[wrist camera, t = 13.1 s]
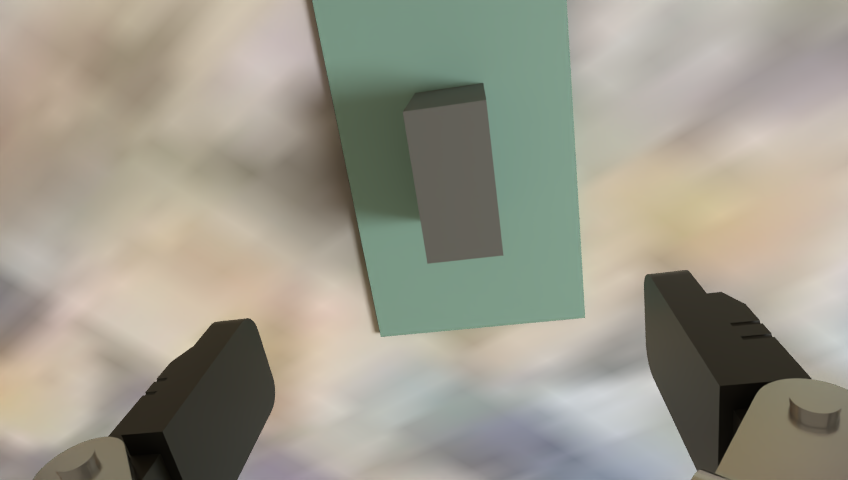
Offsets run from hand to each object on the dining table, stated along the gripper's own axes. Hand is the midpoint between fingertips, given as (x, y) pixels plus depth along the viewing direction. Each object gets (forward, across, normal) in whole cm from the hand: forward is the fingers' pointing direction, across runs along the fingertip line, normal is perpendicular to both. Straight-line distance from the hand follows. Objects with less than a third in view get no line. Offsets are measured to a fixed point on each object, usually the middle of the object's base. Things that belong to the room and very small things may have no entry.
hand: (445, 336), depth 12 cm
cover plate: (+17, 0, 0) cm, 17 cm away
